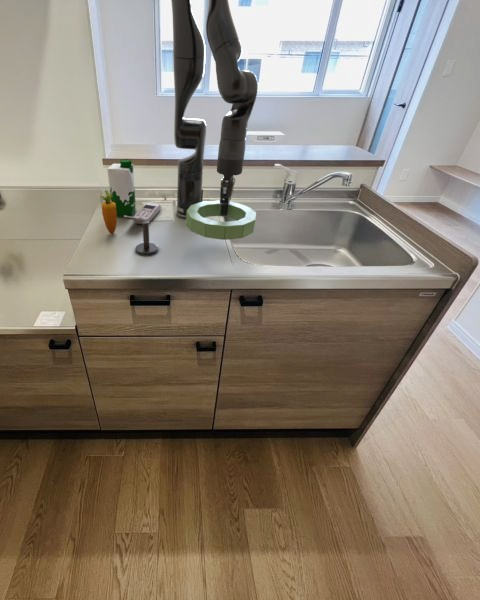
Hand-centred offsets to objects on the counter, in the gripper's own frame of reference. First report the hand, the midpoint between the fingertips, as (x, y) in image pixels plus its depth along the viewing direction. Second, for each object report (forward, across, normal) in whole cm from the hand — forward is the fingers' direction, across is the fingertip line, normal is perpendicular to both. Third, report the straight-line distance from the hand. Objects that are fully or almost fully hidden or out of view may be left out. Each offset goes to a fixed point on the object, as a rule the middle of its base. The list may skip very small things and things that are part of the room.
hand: (224, 213), depth 101 cm
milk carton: (+10, +12, +41) cm, 44 cm away
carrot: (+10, -6, +37) cm, 39 cm away
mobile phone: (+10, +10, +31) cm, 34 cm away
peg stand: (+10, -14, +22) cm, 28 cm away
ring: (+1, -8, 0) cm, 9 cm away
